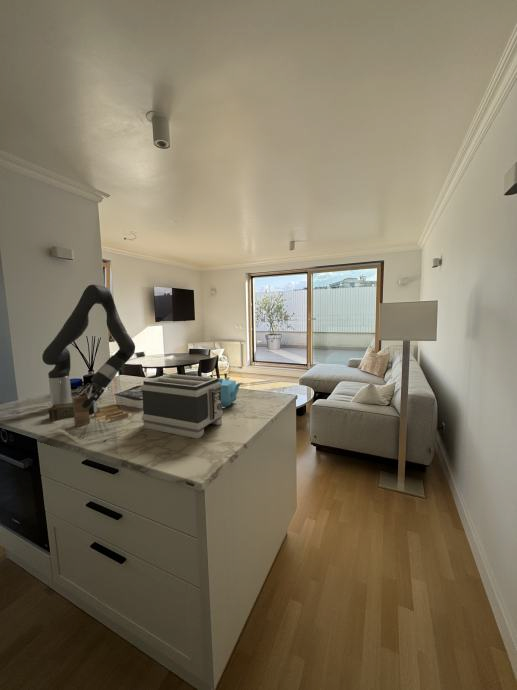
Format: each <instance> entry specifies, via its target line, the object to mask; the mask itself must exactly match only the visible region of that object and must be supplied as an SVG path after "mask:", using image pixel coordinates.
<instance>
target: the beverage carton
mask: <svg viewBox="0 0 517 690" xmlns="http://www.w3.org/2000/svg"><path fill="white" fill-rule="evenodd" d="M97 401H98V400H97ZM97 401H93V402H91V404H90V405H89V415H90V414H91V415H92V414H94V412H96V411H98V409H97V407H98V406H97ZM94 415H95V414H94ZM48 416H49V422H55V421H62V420H65V419H69V418H72V417H73V418H74V410H73V402H72V403H66V404H56V405H53V406H52V407H50V408H49V409H48ZM54 420H55V421H54Z"/></svg>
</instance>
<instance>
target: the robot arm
mask: <svg viewBox="0 0 517 690" xmlns="http://www.w3.org/2000/svg"><path fill="white" fill-rule="evenodd" d="M96 304H98V305H101V306H102V308H103V309H104V311H105V315H106V326H107V329H108V331H109V333H110V335H111V337H112V338H113V340H115V342H116V344H117V346H118V350H117V351H116V352H115V353H114V354H113V355H111V356H110V357H109V358H108V359H107V360H106V361H105V362H104V364H102V366H101V367H99V369H98V370H97V371H96V373H95V374H94V375H93V376H92V377H91V378H90V381H91V383H90V382H87V383H86V384H85V385H84V386H83V387H82V388H81V389H80V390H79V392H78V396H84V395H85V396H88V399H87V400H86V401H85V402H84V403H83V405H82V407H83V408H85V409H86V408H87V407H88V406H89V405H90V404H91V402H93V401H98V400H99V398H100V397H101V396H102V395H103V393H104V392H105V389H106V388H107V387H108V386H109V384H110V383H111V382H112V381H113V380H114V378H116V376H117V374H118V373H119V371H120V370H121V369H122V367H124V365H125V364H126V363H127V362H128V361H129V360H130V359H131V358H132V357H133V355H134V354H135V351H136V345H135V343H134V341H133V338H132V337H131V336H130V334H128V331H127V330H126V327H125V326H124V323H123V322H122V320H121V318H120V316H119V313H118V310H117V306H116V303H115V301H114V296H113V294H112V291H111V290H110V289H109V288H108V287H106V286H103V285H98V284H89V285H88V286H86V288H85V289H84V291H83V292H82V294H81V297H80V299H79V300H78V302H77V304H76V306H75V308H74V309H73V311H72V312H71V313H70V315H69V317H68V318H67V319H66V320H65V322H64V324H63V326H62V328H60V330H59V332H58V333H57V335H56V336H55V337H54V339H53V340H52V341H51V342H50V344H48V345H47V347H46V348H45V349H44V351H43V353H42V355H41V356H42V361H43V363H44V364H45V365H48V366H54V368H52V370H50V371H48V383H49V384H48V385H49V395H50V396H49V397H50V406H51V407H52V406H53V405H56V404H66V403H73V397H72V390H71V389H72V388H71V380H70V379H71V378H70V372H71V353H70V351H69V349H68V348H67V347H68V346H69V345H71V344H72V343H73V342H75V341H76V340H78V339H79V338H80V337H81V336H82V335H83V334H84V333H85V331H86V329H87V328H88V327H89V322H90V321H89V319H90V318H89V313H90V310H91V309H92V308H93V306H94V305H96ZM91 311H92V310H91ZM51 407H50V408H51Z"/></svg>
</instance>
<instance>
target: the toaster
mask: <svg viewBox="0 0 517 690" xmlns="http://www.w3.org/2000/svg"><path fill="white" fill-rule="evenodd" d="M219 378H220V377H209V376H208V377H207V376H197V375H186V374H177V373H176V374H175V373H167V374H165V375H161V376H157V377H154V378H153V377H152V378H149V379H146V380H143V381H142V382H143V383H142V386H141V385H140V386H141V390H142V398H143V408H142V410H143V411H142V412H143V413H142V415H141V420H142V421H143V428H144V429H147V430H153V431H157V432H163V433H167V434H172V435H175V436H177V435H178V436H183V437H187V438H192V439H195V440H196V439H197V440H198V439H201V438H202V436H203V435H204V433H205V427H207V426H208V425H213V424H214V425H215V426H220V425H221V424H222V422H223V416H224V412H223V408H222V403H221V383H220V382H219Z"/></svg>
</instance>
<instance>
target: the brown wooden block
mask: <svg viewBox="0 0 517 690" xmlns="http://www.w3.org/2000/svg"><path fill="white" fill-rule="evenodd" d="M88 397H89V396H85V395H84V396H80V395H78V396H76V397H72V403H73V410H74V416H73V418H74V420H73V421H74V422H73V423H74V426H75V427H81V426H85V425H89V424H91V422H90V420H91V419H90V417H91V416H90V414H89V406H88V407H87V408H86V409H85V408H83V407H82V405H83V403H84V402H85V401H86V400H87V399H88Z"/></svg>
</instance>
